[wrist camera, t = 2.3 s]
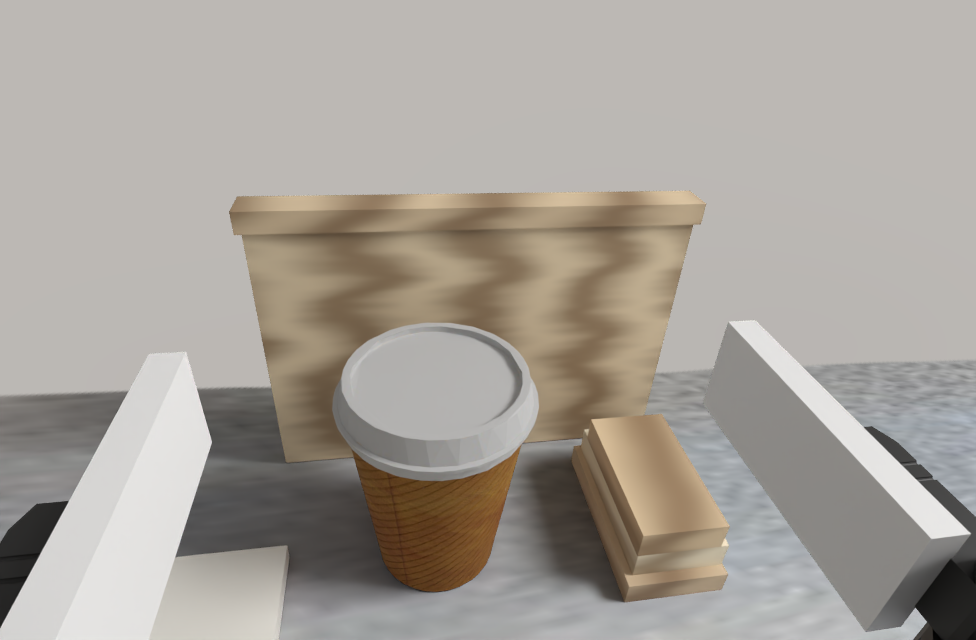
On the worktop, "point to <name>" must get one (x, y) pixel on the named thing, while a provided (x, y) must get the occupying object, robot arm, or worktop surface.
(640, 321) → the pine panel
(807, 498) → the robot arm
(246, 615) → the white square coaster
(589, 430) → the offcut stack
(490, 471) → the disposable coffee cup
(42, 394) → the worktop surface
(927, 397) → the worktop surface
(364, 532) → the worktop surface
